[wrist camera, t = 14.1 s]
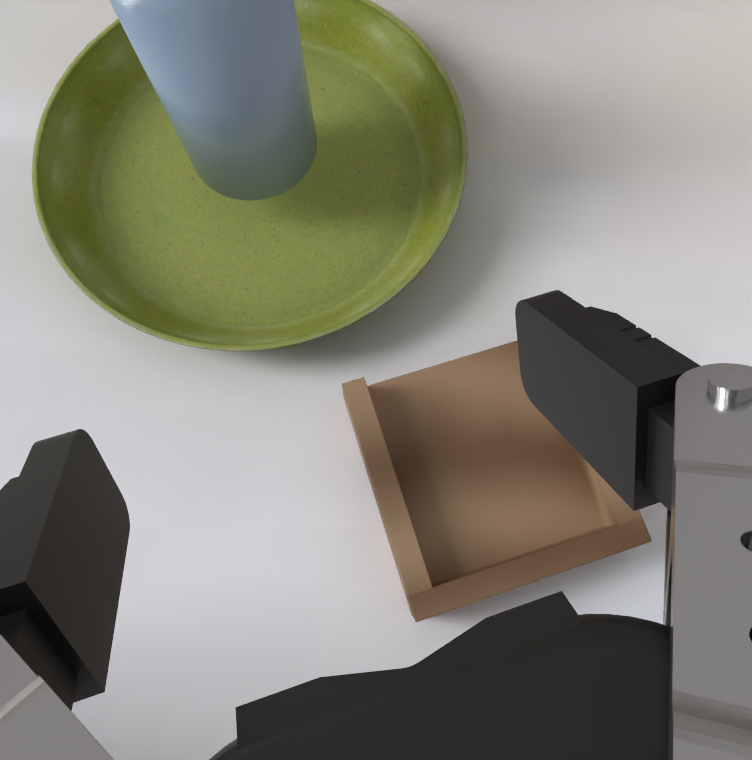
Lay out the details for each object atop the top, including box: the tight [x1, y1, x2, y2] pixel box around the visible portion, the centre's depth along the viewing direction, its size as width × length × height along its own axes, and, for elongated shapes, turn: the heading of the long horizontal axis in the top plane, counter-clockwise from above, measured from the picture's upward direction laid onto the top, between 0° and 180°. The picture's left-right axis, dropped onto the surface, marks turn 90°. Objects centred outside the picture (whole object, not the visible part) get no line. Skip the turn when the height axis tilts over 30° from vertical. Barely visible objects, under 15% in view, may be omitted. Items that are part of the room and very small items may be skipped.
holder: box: [342, 341, 652, 622], centre depth 26 cm, size 10×10×2 cm
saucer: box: [32, 0, 467, 351], centre depth 30 cm, size 21×21×3 cm
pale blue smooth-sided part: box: [109, 0, 317, 201], centre depth 24 cm, size 8×6×10 cm
